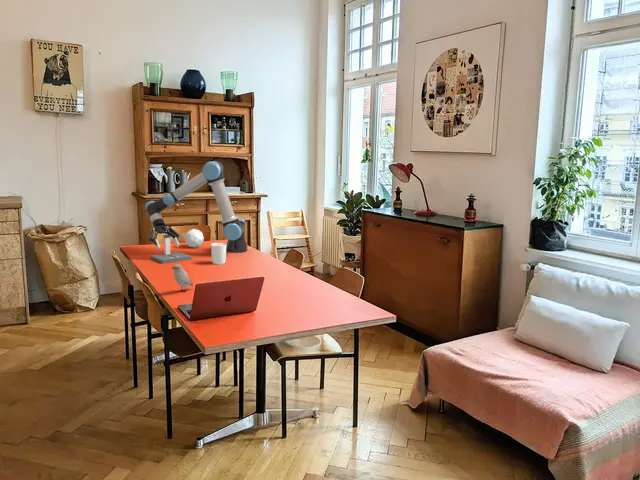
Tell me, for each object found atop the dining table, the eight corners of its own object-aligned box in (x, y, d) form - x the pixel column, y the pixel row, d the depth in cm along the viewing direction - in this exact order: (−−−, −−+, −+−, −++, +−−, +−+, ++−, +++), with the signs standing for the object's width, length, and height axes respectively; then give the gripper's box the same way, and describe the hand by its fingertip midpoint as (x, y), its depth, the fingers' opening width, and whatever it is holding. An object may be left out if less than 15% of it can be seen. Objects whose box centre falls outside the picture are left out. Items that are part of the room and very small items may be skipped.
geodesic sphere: (181, 237, 391) (183, 224, 381) (200, 236, 396) (202, 223, 387) (185, 252, 382) (187, 239, 373) (204, 250, 388) (206, 238, 378)
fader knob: (168, 253, 352) (168, 234, 349) (170, 254, 350) (170, 235, 348) (164, 254, 350) (163, 235, 347) (166, 254, 348) (165, 235, 345)
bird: (168, 293, 272) (167, 264, 269) (190, 287, 282) (189, 260, 279) (174, 295, 269) (174, 266, 266) (196, 289, 279) (195, 261, 276)
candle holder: (228, 261, 344) (228, 243, 342) (224, 264, 335) (224, 246, 332) (213, 260, 345) (213, 242, 343) (209, 264, 335) (208, 245, 333)
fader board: (178, 254, 359) (178, 251, 359) (191, 259, 347) (191, 256, 347) (150, 258, 346) (150, 255, 346) (162, 263, 334) (162, 260, 333)
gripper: (173, 223, 366) (184, 248, 358) (137, 226, 349) (148, 253, 341) (176, 216, 361) (188, 241, 353) (141, 219, 345) (152, 246, 337)
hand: (168, 247), depth 347 cm, fingers open, 13 cm apart
